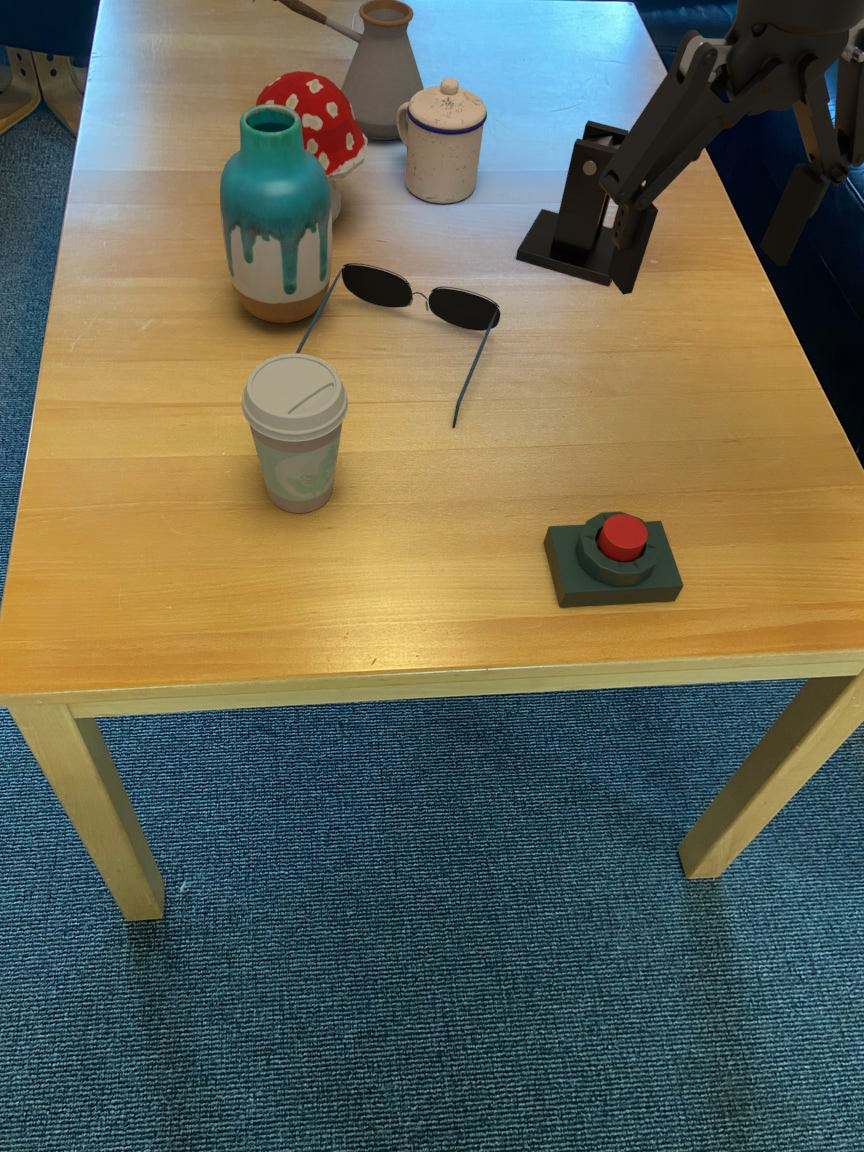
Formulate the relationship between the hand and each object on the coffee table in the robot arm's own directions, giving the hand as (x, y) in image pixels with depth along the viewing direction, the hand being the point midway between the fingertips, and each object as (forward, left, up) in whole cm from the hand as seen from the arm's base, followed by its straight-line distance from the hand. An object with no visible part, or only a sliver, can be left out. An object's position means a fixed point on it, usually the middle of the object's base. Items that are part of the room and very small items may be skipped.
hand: (697, 269), depth 67 cm
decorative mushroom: (+44, -19, -19) cm, 51 cm away
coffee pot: (+49, -40, -19) cm, 66 cm away
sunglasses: (+25, -1, -19) cm, 31 cm away
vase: (+39, -3, -19) cm, 43 cm away
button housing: (-2, +16, -19) cm, 24 cm away
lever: (+9, -27, -7) cm, 29 cm away
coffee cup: (+26, +19, -19) cm, 37 cm away
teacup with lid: (+34, -33, -19) cm, 51 cm away
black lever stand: (+14, -27, -19) cm, 36 cm away
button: (-2, +16, -15) cm, 22 cm away
